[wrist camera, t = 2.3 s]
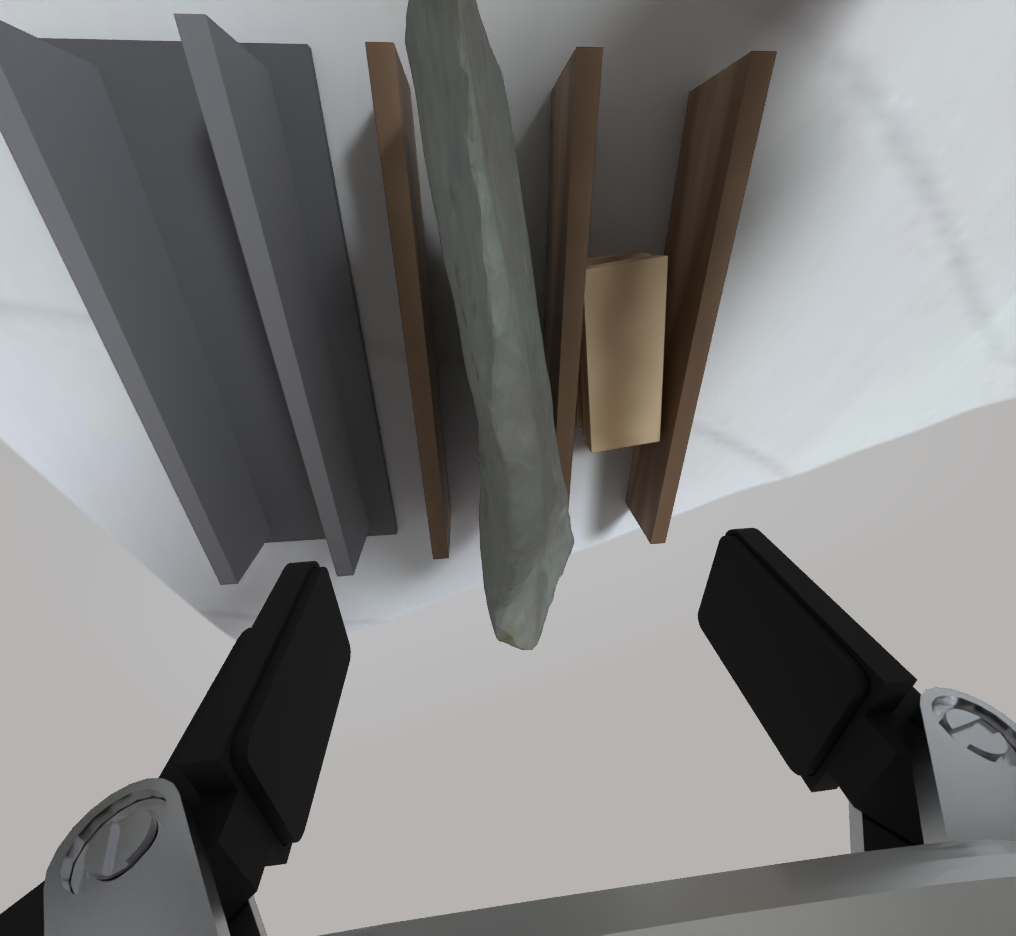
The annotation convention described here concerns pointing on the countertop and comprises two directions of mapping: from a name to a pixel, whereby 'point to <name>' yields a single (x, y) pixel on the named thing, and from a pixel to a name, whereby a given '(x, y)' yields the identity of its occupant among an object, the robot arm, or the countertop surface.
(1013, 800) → the robot arm
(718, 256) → the walnut rack
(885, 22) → the countertop surface
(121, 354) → the slab stand
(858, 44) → the countertop surface
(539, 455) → the rock
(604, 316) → the offcut
